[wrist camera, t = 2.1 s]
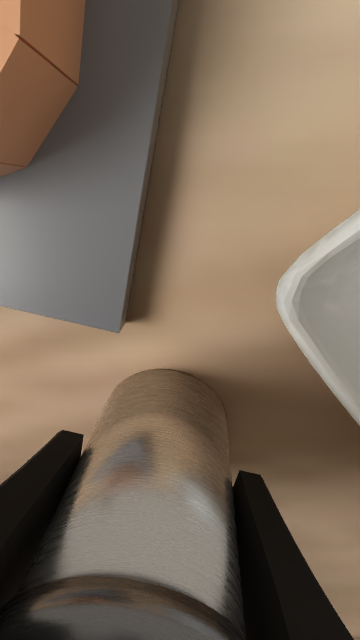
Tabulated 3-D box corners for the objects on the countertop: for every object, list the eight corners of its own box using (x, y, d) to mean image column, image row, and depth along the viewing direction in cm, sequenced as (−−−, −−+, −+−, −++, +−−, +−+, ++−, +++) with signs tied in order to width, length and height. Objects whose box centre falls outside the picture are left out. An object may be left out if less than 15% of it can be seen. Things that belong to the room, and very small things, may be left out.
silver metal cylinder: (211, 483, 13) (218, 795, 6) (93, 456, 13) (-27, 742, 6) (247, 383, 11) (309, 670, 4) (109, 351, 11) (-37, 594, 4)
